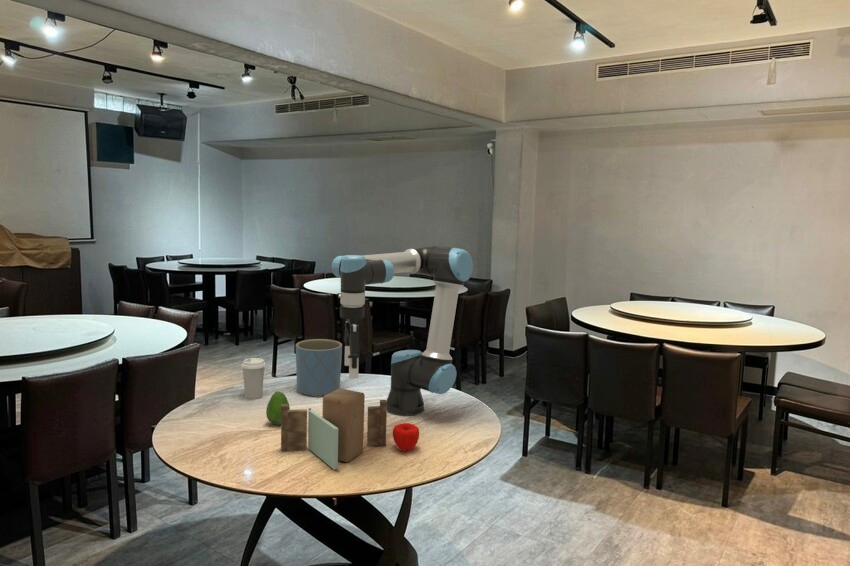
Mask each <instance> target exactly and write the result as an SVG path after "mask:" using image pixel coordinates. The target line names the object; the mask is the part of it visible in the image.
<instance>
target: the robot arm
mask: <svg viewBox="0 0 850 566" xmlns="http://www.w3.org/2000/svg"><path fill="white" fill-rule="evenodd" d="M473 271H474V263H473V258H472V256H471V255H470V253H469V252H468V251H467V250H465V249H463V248H458V247H450V246H448V247H447V246H438V245H426V246H420V247H413V248H408V249H406V250H404V251H401V252H399V251H398V252H390V253H389V252H388V253H387V252H386V253H379V254H378V253H376V254H365V255H359V254H348V255H338V256H336V257H335V258H333V261H332V262H331V272H332V274H333V275H334V276H335V277H337V278H339V279H340V294H339V295H338V298H339V299H340V304H341V305H340V306H339V317H340V318H341V319H343V320H345V323H344V339H343V340H344V345H345V346H344V366H345V367H348V379H359V366H360V365H359V361H360V360H359V358H360V357H361V355H360V325H359V323H358V320H362V319H364V318H365V306H364V305H365V303H366V286H368V285H376V284H385V283H389V282H390V281H392V279H393V278H394V275H395V274H399V273H407V274H409V275H414V274H415V275H424V276H429V277H432V278H433V279H432V283H433V284H434V285H435V292H434V298H433V305H432V310H431V311H432V312H431V318H430V324H429V330H428V337H427V343H426V349H425V350H424V351H423V352H422V351H421V350H419V349H418V350H417V349H405V350H399V351H395V352H393V354H392V355H391V362H390V389H389V393H388V395H387V397H386V401H387V413H389V414H392V415H395V416H396V415H397V416H414V415H419V414H421V413H423V412H424V411H425V402H424V398H423V394H422V391H421V390H424V391H427V392H429V393H432V394H438V395H444V394H445V393H447V392H449V391H450V390H451V388H452V387H453V386H454V384H455V382H456V379H457V370H456V366H455V365H454V364H452V363H453V358H452V356H451V354H450V349H451V344H452V337H453V329H454V322H455V316H456V310H457V304H458V298H459V291H460V289H462V288H463V287H464V286H465V282H467V281H468V280H469V279H471V277H472V274H473Z"/></svg>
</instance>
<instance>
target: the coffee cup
mask: <svg viewBox="0 0 850 566" xmlns="http://www.w3.org/2000/svg"><path fill="white" fill-rule="evenodd" d="M266 366H267V365H266V362H265V360H264V359H263V358H261V357H260V358H258V357H250V358H246V359H244V360H243V361H242V362H241V365H240V367H241V369H242V377H243V386H244V387H243V389H244V398H245V399H246V400H260V399H262V397H263V389H264V387H263V386H264V377H265V369H266V368H265V367H266Z"/></svg>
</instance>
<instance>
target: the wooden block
mask: <svg viewBox="0 0 850 566" xmlns="http://www.w3.org/2000/svg"><path fill="white" fill-rule="evenodd" d="M365 396H366V395H365V393H364V392H360V391H355V390H351V389H346V388H341V387H340V388H339V389H337V390H335V391H333V392H331V393H329V394H325V395H323V396H322V415H321V416H322V417H323V418H324V419H326V420H327V421H329V422H330V423H331V424H333V425H334V426H336V427H337V428H338V462H344V463H349V462H350V461H352V460H353V459H354V458H356V457H357V456H359V455H360V454H362V453H363V451H364V437H365V436H364V434H365V432H364V431H365V430H364V429H365V398H366V397H365Z"/></svg>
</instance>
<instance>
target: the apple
mask: <svg viewBox="0 0 850 566" xmlns="http://www.w3.org/2000/svg"><path fill="white" fill-rule="evenodd" d="M392 438H393V442H394V443H395V445H396V448H397V449H399V450H400V451H403V452H411V451H413V450H414V448H415V447H417V444H418V442H419V440H420V429H419V427H418V426H417V425H415V424H413V423H410V422H403V423H398V424H396V425H394V427H393V428H392Z"/></svg>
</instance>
